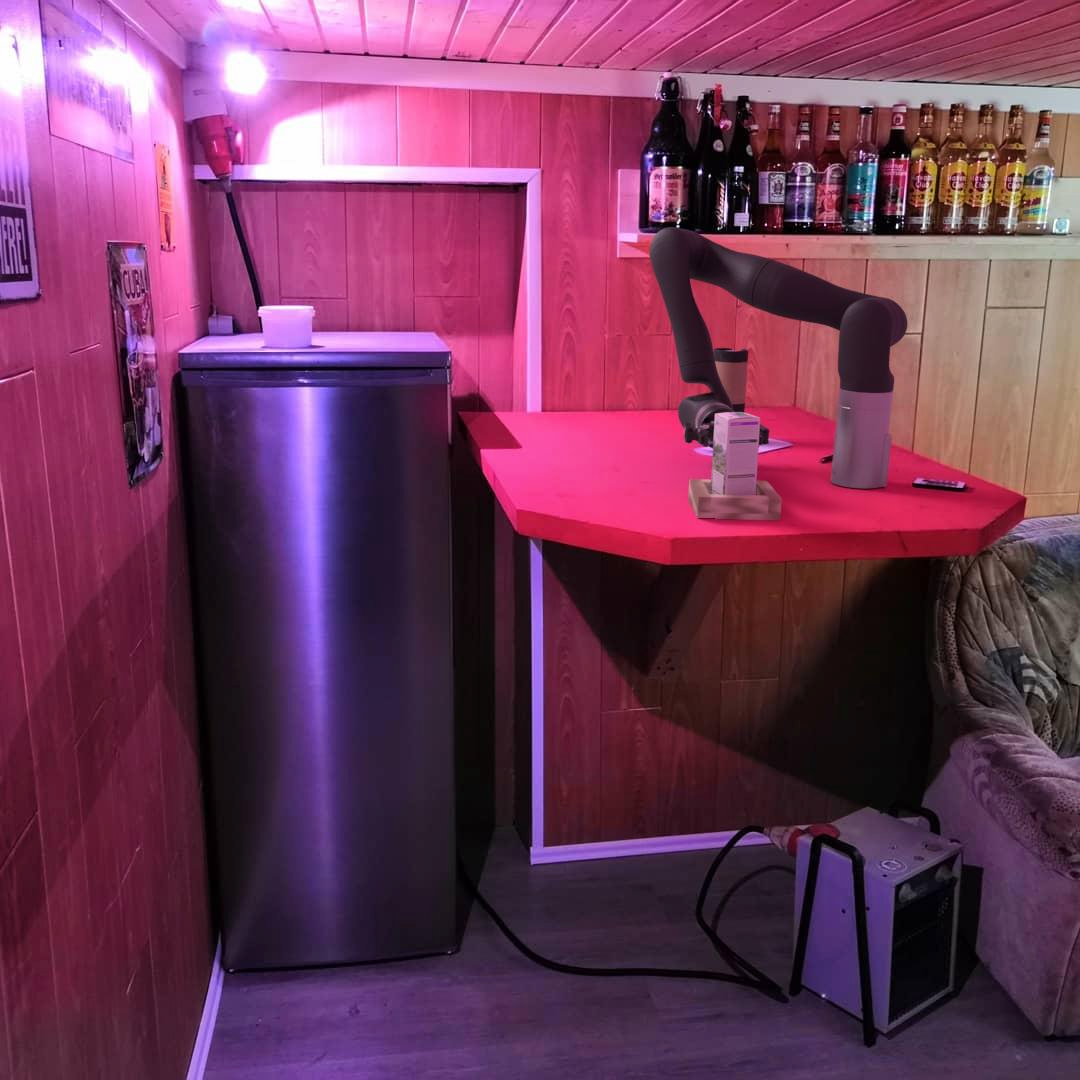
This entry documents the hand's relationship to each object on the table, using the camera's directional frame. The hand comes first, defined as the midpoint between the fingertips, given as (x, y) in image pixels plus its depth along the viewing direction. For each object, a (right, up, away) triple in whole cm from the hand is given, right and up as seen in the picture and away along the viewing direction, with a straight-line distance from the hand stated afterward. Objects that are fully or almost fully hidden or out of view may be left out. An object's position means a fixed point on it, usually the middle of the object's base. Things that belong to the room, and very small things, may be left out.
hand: (731, 441), depth 175 cm
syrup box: (-1, -11, -3) cm, 11 cm away
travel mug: (+9, +5, +58) cm, 59 cm away
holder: (0, -11, -3) cm, 12 cm away
